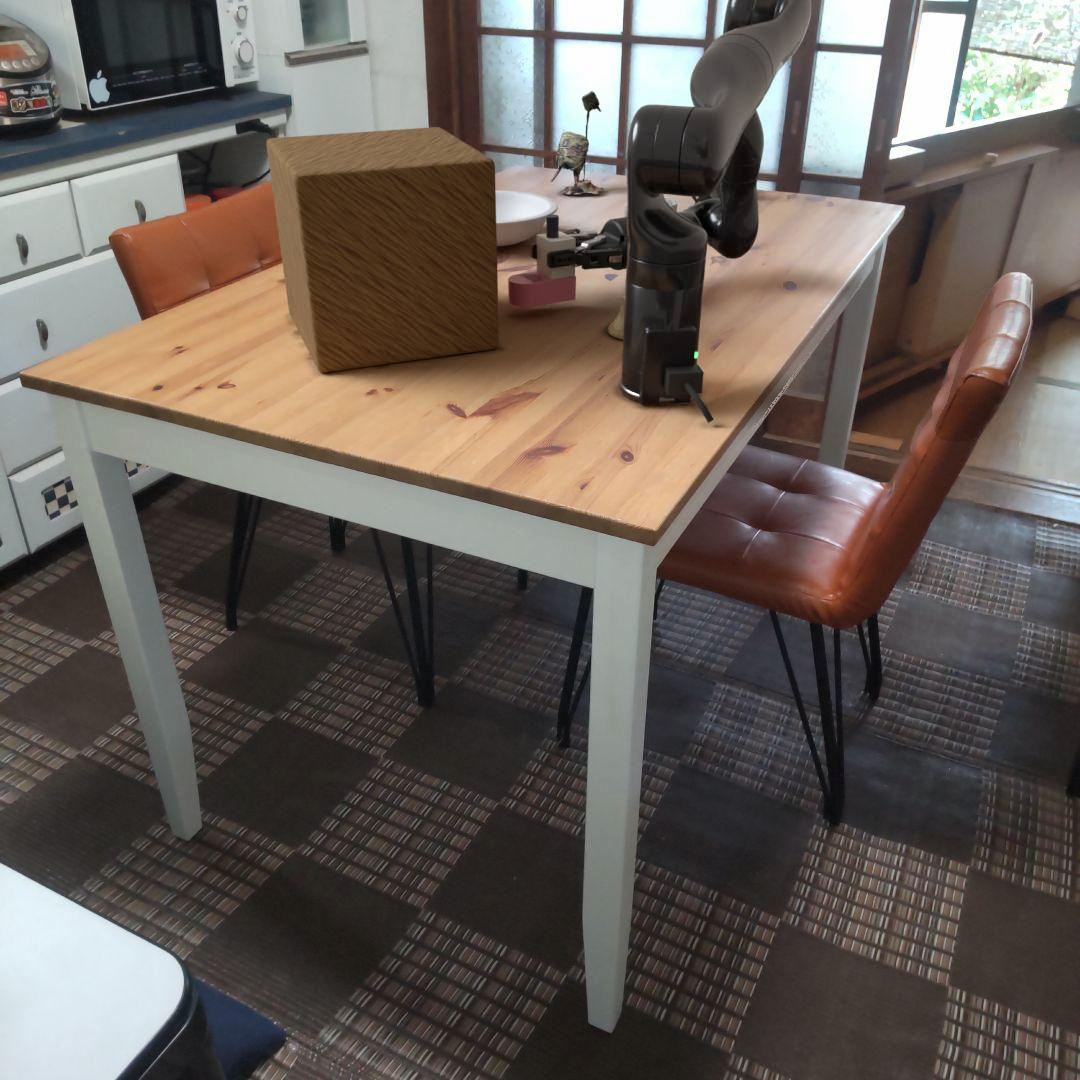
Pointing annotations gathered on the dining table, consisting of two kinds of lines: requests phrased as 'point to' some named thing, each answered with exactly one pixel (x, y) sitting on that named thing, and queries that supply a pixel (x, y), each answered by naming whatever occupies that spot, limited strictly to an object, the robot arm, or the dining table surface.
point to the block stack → (545, 272)
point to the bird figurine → (577, 152)
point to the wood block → (387, 245)
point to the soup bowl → (520, 215)
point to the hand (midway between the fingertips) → (540, 256)
